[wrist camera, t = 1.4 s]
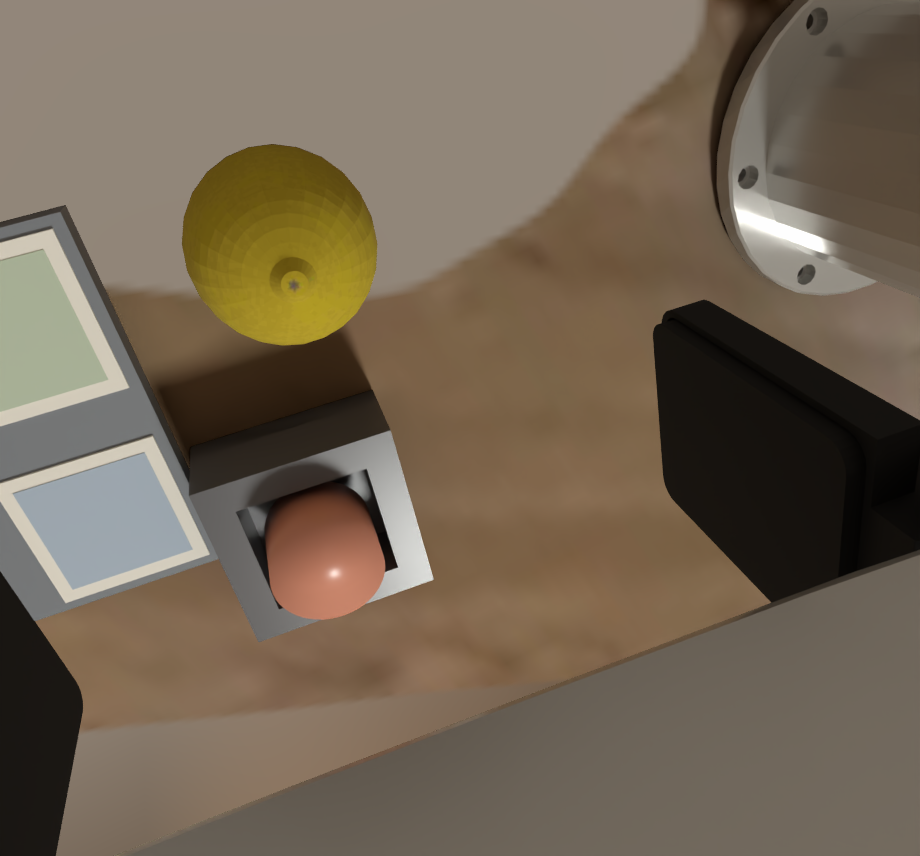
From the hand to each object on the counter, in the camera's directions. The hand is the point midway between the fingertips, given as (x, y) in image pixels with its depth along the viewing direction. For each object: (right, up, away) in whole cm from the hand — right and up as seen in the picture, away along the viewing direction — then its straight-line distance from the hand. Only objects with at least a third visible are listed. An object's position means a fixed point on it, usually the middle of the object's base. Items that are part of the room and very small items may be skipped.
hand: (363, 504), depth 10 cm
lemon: (-5, +8, +15) cm, 18 cm away
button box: (-5, -2, +21) cm, 21 cm away
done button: (-4, -3, +19) cm, 19 cm away
